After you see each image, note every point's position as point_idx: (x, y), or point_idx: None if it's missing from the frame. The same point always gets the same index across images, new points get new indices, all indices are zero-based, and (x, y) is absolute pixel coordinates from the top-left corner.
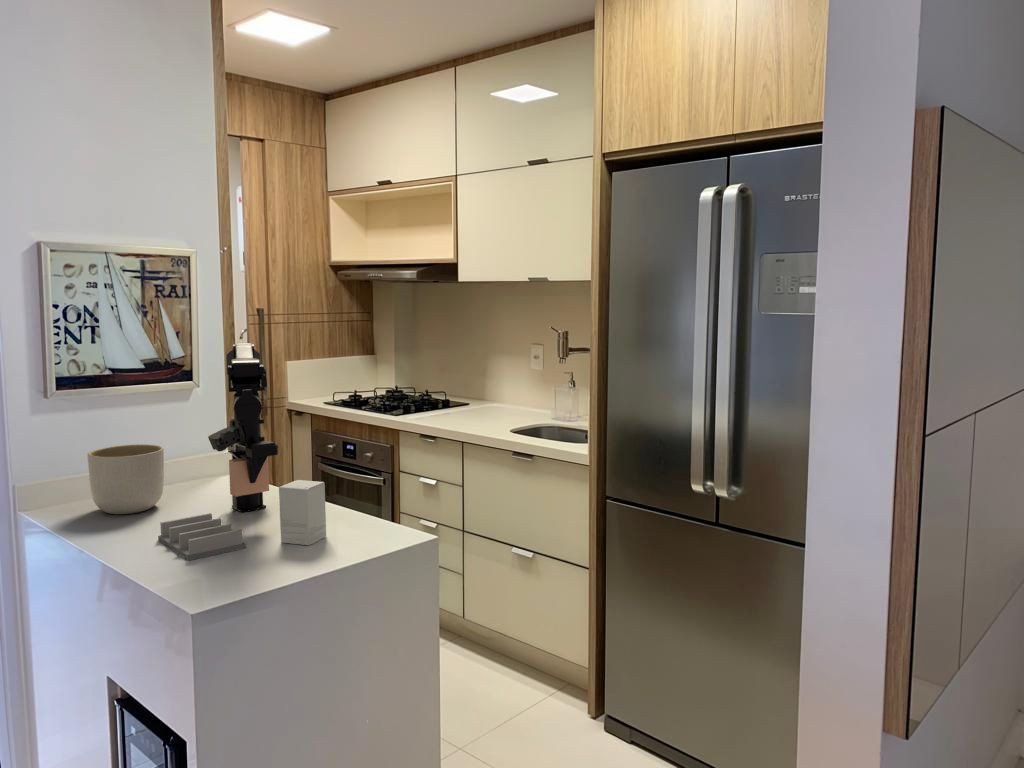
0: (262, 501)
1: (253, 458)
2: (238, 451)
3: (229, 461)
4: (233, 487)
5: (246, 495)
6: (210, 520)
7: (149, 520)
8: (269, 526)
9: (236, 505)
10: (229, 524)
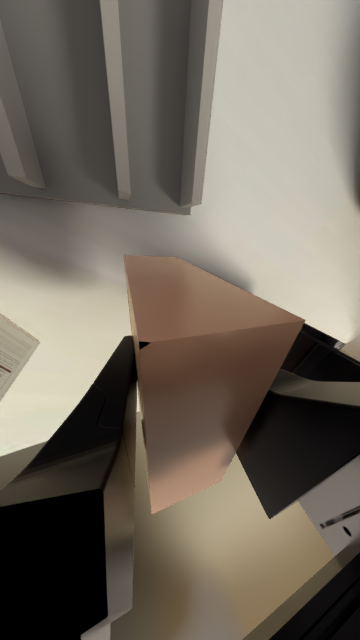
0: None
1: (85, 524)
2: (344, 463)
3: (280, 313)
4: (147, 261)
5: None
6: (119, 145)
7: (337, 143)
8: (129, 313)
9: None
10: (11, 166)
